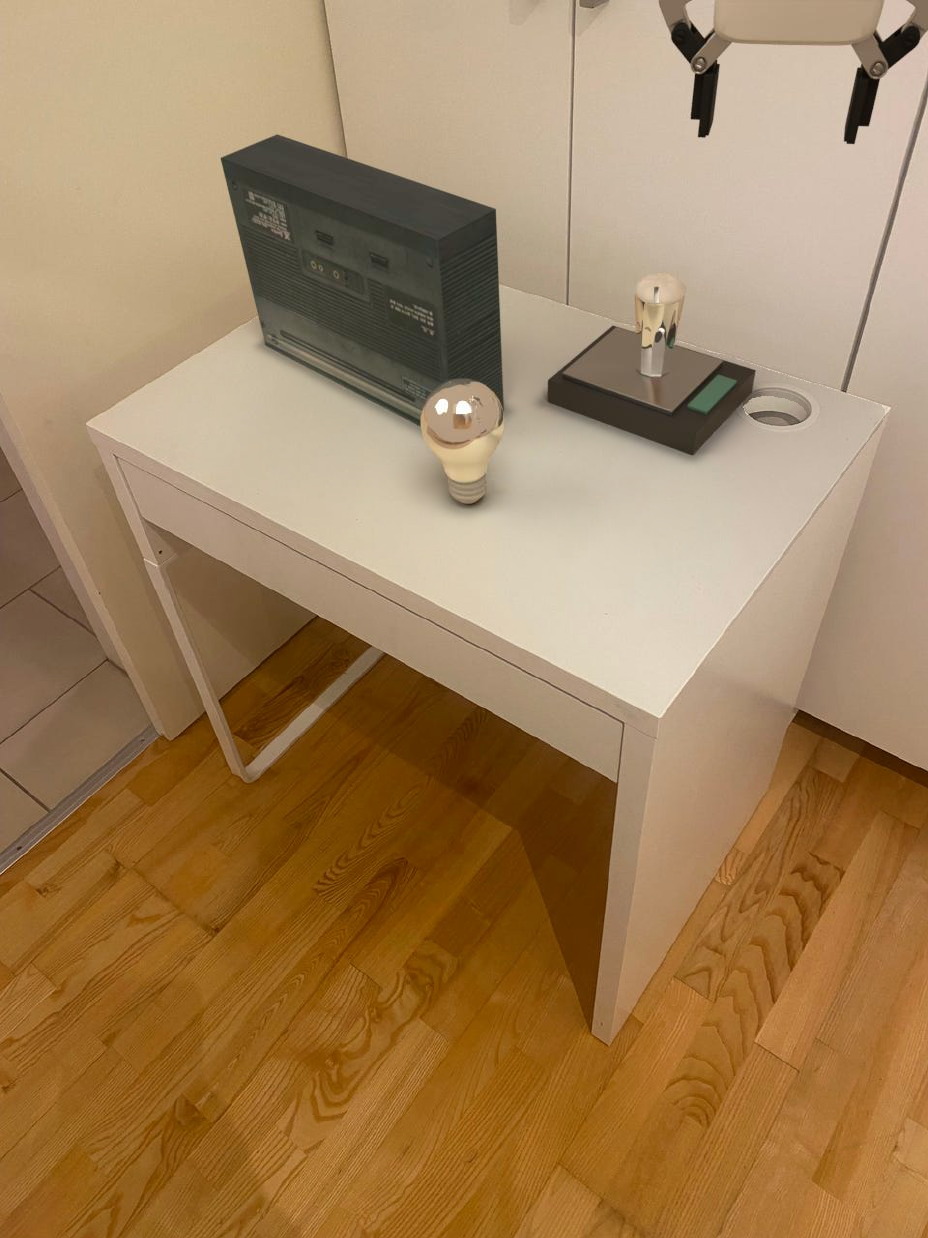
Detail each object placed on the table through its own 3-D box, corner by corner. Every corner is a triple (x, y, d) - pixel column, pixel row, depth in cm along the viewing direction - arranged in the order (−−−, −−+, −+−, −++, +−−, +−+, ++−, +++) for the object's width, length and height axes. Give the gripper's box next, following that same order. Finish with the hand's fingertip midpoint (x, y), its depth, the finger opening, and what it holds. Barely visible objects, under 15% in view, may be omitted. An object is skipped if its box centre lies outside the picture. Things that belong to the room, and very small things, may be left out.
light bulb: (457, 537, 82) (446, 420, 73) (415, 496, 86) (400, 380, 77) (523, 504, 84) (520, 387, 75) (479, 466, 88) (471, 351, 80)
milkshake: (623, 382, 91) (630, 283, 83) (633, 352, 94) (640, 255, 87) (672, 388, 90) (683, 288, 82) (680, 357, 93) (691, 259, 86)
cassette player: (503, 410, 94) (495, 208, 80) (454, 444, 91) (437, 240, 76) (313, 318, 109) (277, 134, 94) (265, 344, 106) (220, 157, 91)
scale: (752, 392, 94) (757, 364, 91) (692, 455, 87) (696, 427, 85) (611, 346, 101) (613, 319, 99) (547, 401, 95) (547, 374, 92)
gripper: (992, -206, 54) (909, 118, 66) (682, -194, 58) (658, 108, 70) (1003, -183, 49) (910, 161, 61) (663, -172, 53) (641, 148, 66)
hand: (776, 133), depth 66 cm, fingers open, 9 cm apart
